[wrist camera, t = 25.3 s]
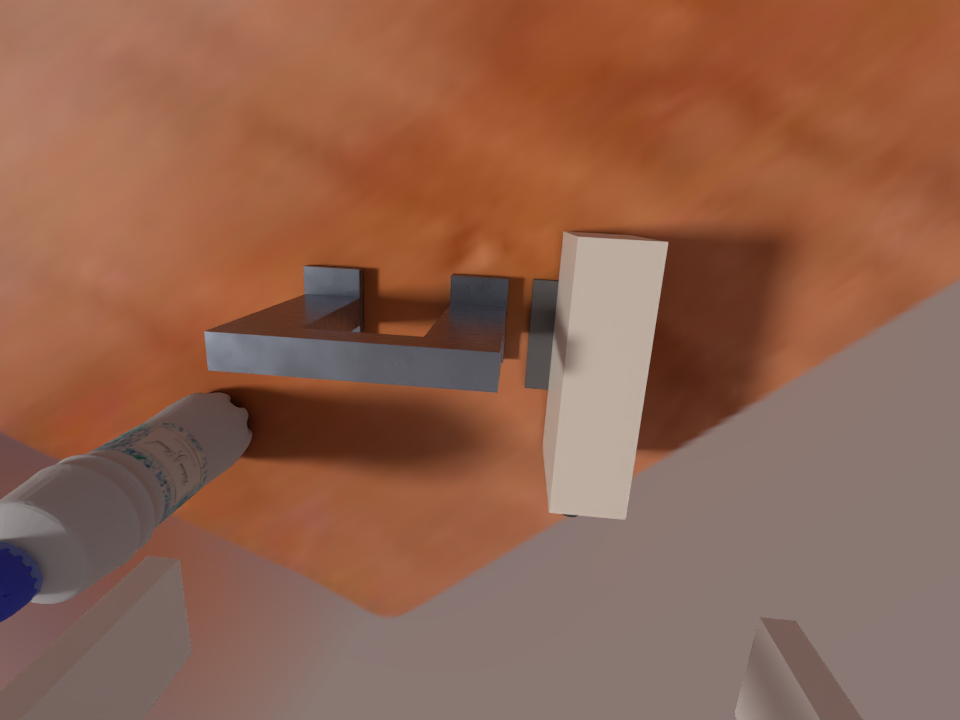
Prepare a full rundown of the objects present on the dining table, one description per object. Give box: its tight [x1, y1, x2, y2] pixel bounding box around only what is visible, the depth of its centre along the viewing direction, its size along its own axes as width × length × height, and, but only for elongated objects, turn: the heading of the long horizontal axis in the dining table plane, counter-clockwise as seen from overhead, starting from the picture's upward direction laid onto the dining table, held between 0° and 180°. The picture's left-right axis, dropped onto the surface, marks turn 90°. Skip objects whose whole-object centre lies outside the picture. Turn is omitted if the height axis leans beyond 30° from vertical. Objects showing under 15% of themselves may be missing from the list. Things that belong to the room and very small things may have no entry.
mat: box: [525, 279, 559, 390], centre depth 36 cm, size 8×8×1 cm
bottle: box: [0, 392, 252, 622], centre depth 31 cm, size 7×7×20 cm
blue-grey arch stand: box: [204, 265, 509, 392], centre depth 31 cm, size 6×14×13 cm, turn 87°
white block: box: [543, 231, 668, 519], centre depth 33 cm, size 20×4×9 cm, turn 177°
